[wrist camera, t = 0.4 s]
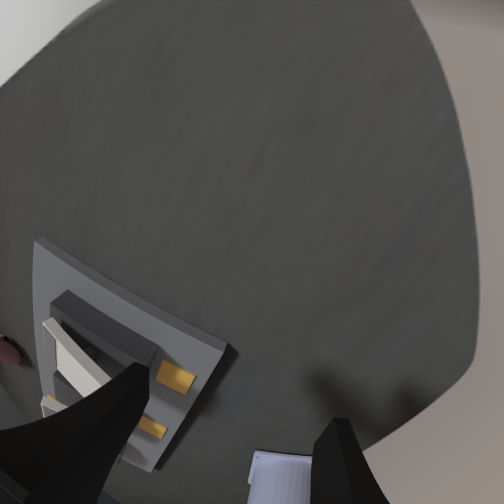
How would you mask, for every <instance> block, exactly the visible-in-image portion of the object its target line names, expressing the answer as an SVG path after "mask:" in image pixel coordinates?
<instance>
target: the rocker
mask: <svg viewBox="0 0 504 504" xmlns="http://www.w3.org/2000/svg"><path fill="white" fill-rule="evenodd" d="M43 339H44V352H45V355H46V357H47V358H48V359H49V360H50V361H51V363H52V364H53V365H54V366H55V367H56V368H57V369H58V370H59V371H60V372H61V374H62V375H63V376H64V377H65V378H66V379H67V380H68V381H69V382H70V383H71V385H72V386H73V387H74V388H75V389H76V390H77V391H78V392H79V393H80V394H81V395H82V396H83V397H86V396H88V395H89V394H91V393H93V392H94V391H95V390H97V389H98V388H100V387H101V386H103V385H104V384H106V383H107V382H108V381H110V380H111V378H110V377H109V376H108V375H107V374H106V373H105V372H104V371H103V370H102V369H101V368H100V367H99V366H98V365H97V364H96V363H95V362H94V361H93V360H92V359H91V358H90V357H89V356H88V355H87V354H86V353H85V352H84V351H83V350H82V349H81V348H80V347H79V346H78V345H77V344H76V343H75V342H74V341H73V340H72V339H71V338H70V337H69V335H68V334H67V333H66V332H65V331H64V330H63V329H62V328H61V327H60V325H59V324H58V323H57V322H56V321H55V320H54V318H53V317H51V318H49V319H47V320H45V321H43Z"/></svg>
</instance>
